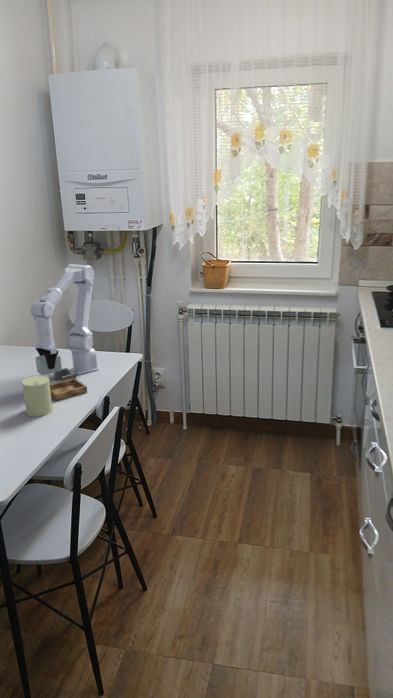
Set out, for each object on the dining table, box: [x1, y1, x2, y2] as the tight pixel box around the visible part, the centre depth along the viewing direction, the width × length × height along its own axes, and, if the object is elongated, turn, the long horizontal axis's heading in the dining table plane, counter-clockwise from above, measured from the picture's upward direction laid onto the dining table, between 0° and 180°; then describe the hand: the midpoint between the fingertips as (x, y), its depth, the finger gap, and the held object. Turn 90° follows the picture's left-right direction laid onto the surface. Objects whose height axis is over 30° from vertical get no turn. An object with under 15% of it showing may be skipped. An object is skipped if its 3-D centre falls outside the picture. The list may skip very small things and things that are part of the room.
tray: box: [50, 378, 88, 402], centre depth 207 cm, size 13×11×2 cm
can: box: [21, 375, 54, 417], centre depth 191 cm, size 9×9×12 cm
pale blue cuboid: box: [35, 354, 63, 376], centre depth 209 cm, size 8×5×6 cm, turn 126°
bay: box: [53, 367, 77, 382], centre depth 218 cm, size 6×9×4 cm, turn 37°
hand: (48, 366), depth 209 cm, fingers closed on pale blue cuboid, 5 cm apart
